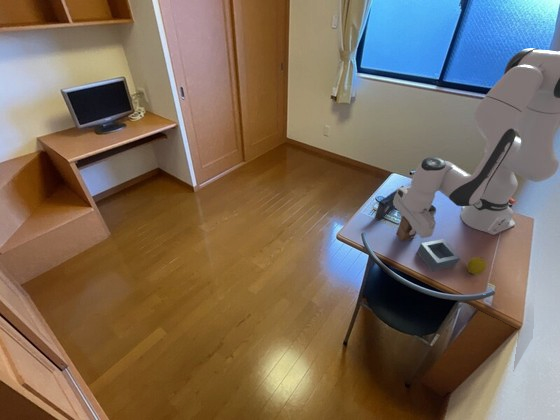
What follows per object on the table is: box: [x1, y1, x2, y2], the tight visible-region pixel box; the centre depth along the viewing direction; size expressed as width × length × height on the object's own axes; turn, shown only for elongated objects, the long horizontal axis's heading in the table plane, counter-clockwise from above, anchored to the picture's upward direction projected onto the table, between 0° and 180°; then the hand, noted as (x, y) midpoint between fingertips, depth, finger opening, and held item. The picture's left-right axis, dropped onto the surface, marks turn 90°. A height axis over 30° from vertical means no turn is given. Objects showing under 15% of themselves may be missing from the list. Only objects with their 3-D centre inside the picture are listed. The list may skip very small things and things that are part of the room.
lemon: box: [466, 256, 487, 275], centre depth 105 cm, size 6×6×8 cm
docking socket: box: [416, 238, 461, 272], centre depth 111 cm, size 10×10×5 cm
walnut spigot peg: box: [395, 216, 412, 242], centre depth 110 cm, size 4×4×10 cm
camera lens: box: [428, 204, 437, 217], centre depth 127 cm, size 6×6×8 cm
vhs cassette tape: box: [374, 185, 405, 221], centre depth 131 cm, size 18×3×10 cm, turn 129°
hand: (406, 228), depth 110 cm, fingers closed on walnut spigot peg, 4 cm apart
